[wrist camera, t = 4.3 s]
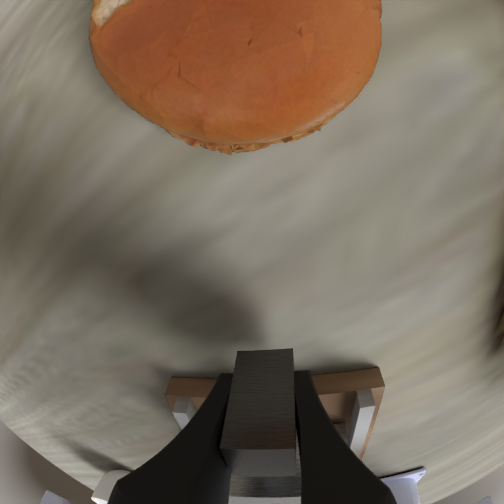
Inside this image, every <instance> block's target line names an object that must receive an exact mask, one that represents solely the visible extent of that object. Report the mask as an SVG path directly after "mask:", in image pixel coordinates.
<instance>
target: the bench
mask: <svg viewBox="0 0 504 504" xmlns="http://www.w3.org/2000/svg"><path fill="white" fill-rule="evenodd" d="M311 376H312V380H313V383H314V386H315V389H316V391H317V394H318V396H319V398H320V400H321V402H322V404H323V406H324V408H325V410H326V412H327V414H328V416H329V418H330V419H331V421H332V423H333V424H342V423H345V426H346V433H347V440H348V446H349V447H350V449H351V450H352V451H353V452H354V453H355V455H356V456H357V457H358V458H359V459H360V460H362V457H363V454H364V452H365V449H366V446H367V443H368V441H369V438H370V435H371V432H372V429H373V426H374V423H375V419H376V416H377V413H378V410H379V406H380V403H381V399H382V396H383V392H384V388H385V384H384V381H383V378H382V375H381V372H380V369H379V367H377V368H371V369H364V370H357V371H349V372H340V373H331V374H321V375H311ZM216 381H217V379H207V378H180V377H171V380H170V382H169V385H168V388H167V390H166V393H165V397H166V399H167V401H168V403H169V405H170V407H171V409H172V413H173V415H174V417H175V419H176V421H177V423H178V425H179V426H180V428H181V430H182V429H183V428H184V427H185V426H186V425H187V423H188V422H189V421H190V420H191V418H192V417H193V416H194V415H195V413H196V412H197V411H198V409H199V408H200V406H201V405H202V403H203V402H204V400H205V399H206V397H207V396H208V394H209V393H210V391H211V389H212V388H213V386H214V384H215V383H216Z"/></svg>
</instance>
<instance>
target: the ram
mask: <svg viewBox="0 0 504 504" xmlns="http://www.w3.org/2000/svg"><path fill="white" fill-rule="evenodd" d="M334 426H335V428H336V429H337V431H338V432H339V434H340V435H341V437H342V438H343V439H344V441H345V442H346V443H347V445H348V440H347V433H346V426H345V423H342V424H334ZM220 451H221V453H222V455H223V457H224V459H225V461H226V463H227V466H228V468H229V470H230V472H231V479H230V490H229V503H228V504H301V466H300V456H299V448H298V440H297V431H296V416H295V392H294V358H293V348H292V349H276V350H255V351H237V357H236V362H235V368H234V373H233V379H232V384H231V389H230V395H229V400H228V406H227V411H226V416H225V422H224V427H223V433H222V438H221V443H220Z"/></svg>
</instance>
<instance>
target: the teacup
mask: <svg viewBox="0 0 504 504" xmlns="http://www.w3.org/2000/svg"><path fill="white" fill-rule="evenodd" d="M129 473H131V472H130V471H126V470H113V471H110V472H108V473H106V474H105V475H104V476H103V477H102V479H101V480H100V482H99V484H98V485H97V487H96V489H95V491H94V493H93V495H92V497H91V499H92V500H93V501H94V502H96V503H97V504H107V503H108V500H109V497H110V494H111V492H112V489H113V487H114V485H115V484H116V482H117V480H118V479H120V478H122V477H124V476H126V475H127V474H129Z"/></svg>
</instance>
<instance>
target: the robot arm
mask: <svg viewBox="0 0 504 504" xmlns="http://www.w3.org/2000/svg"><path fill="white" fill-rule="evenodd" d="M232 379H233V374H220V375H219V377H218V379H217V381H216V383H215V384H214V386H213V388H212V389H211V391H210V393H209V394H208V396H207V397H206V399H205V400H204V402H203V403H202V405H201V406H200V408H199V409H198V411H197V412H196V413H195V415H194V416H193V417H192V418H191V420H190V421H189V422H188V423H187V425H186V426H185V427H184V428H183V429H182V431H181V432H180V433H179V434H178V435H177V436H176V437H175V438H174V439H173V440H172V441H171V442H170V443H169V444H168V445H167V446H166V447H165V448H163V449H162V450H161V451H160V452H159V453H158V454H157V455H155V456H154V457H153V458H151V459H150V460H149V461H147V462H146V463H145V464H143V465H142V466H140V467H139V468H137V469H136V470H134V471H132V472H131V473H129V474H127V475H126V476H124V477H122V478H120V479H118V480H117V482H116V484H115V485H114V487H113V489H112V492H111V494H110V497H109V500H108V503H107V504H228V503H229V490H230V479H231V472H230V470H229V468H228V466H227V463H226V461H225V459H224V457H223V455H222V453H221V451H220V443H221V438H222V433H223V427H224V422H225V416H226V411H227V406H228V400H229V395H230V389H231V384H232ZM294 392H295V416H296V431H297V440H298V448H299V456H300V466H301V504H420V500H419V495H418V490H417V486H416V483H417V482H418V481H419V480H420V478H421V477H422V476H423V475H424V474H425V472H426V471H427V470H426V468H422V469H418V470H415V471H411V472H407V473H404V474H400V475H395V476H391V477H387V478H382V479H379V478H378V477H377V476H375V475H374V474H373V473H372V472H371V471H370V470H369V469H368V468H367V467H366V466H365V465H364V464H363V462H362V461H361V460H360V459H359V458H358V457H357V456H356V455H355V453H354V452H353V451H352V450H351V449H350V447H349V446H348V445H347V443H346V442H345V441H344V439H343V438H342V437H341V435H340V434H339V432H338V431H337V429H336V428H335V426H334V424H333V423H332V421H331V419H330V418H329V416H328V414H327V412H326V410H325V408H324V406H323V404H322V402H321V400H320V398H319V396H318V394H317V391H316V389H315V386H314V383H313V380H312V376H311V372H310V371H308V370H305V371H294ZM40 504H72V503H70V502H69V501H67V500H65V499H63V498H61V497H60V496H58V495H55V494H54V493H52V492H50V491H46V492H45V495H44V496H43V499H42V501H41V503H40ZM474 504H493V503H492V499H491V497H490V496H488V497H486V498H484V499H482V500H480V501H478V502H476V503H474Z"/></svg>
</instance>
